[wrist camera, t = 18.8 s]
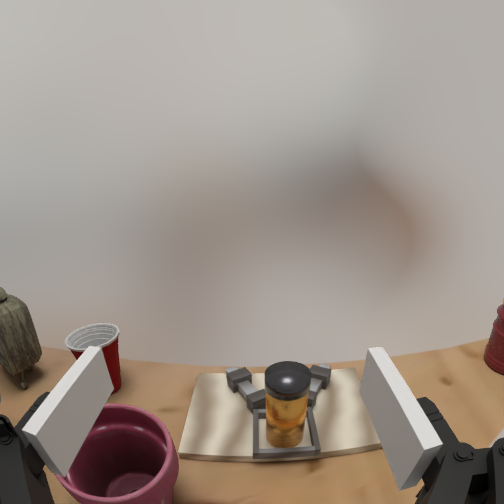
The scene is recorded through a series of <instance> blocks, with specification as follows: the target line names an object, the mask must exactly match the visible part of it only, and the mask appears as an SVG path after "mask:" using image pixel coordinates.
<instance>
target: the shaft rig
mask: <svg viewBox="0 0 504 504" xmlns="http://www.w3.org/2000/svg"><path fill="white" fill-rule="evenodd" d="M330 368H331V366H329V365H325V364H320V365H319V366H315V365H312V367H311V368H310V371H311V385H310V390H309V393H308V402H307V411H306V419H305V427H304V435H303V439H302V441H301V442H300V443H299V444H298V445H297V446H295V447H292V448H276V447H274V446H272V445H271V444H269V443H268V441H267V440H266V391H265V373H262V374H251V373H250V372H249V371H248V370H247V369H246V368H245V367H244V368H241V369H237V368H236V367H232V368H229V369H225V370H226V374H221V373H198V377H197V381H196V384H195V388H194V392H193V396H192V400H191V404H190V407H189V411H188V415H187V419H186V423H185V427H184V431H183V435H182V439H181V443H180V447H179V451H178V453H179V456H180V458H185V459H195V460H209V461H230V462H269V461H291V460H304V459H315V458H324V457H332V456H340V455H346V454H353V453H359V452H364V451H370V450H375V449H380V448H383V447H382V445H381V443H380V440H379V438H378V435H377V433H376V430H375V428H374V425H373V423H372V421H371V418H370V416H369V413H368V411H367V409H366V406H365V404H364V402H363V399H362V397H361V395H360V392H359V389H360V385H361V380H360V378H359V376H358V374H357V372H356V369H355V368H346V369H335V370H332V369H330Z"/></svg>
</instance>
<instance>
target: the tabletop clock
mask: <svg viewBox="0 0 504 504" xmlns="http://www.w3.org/2000/svg"><path fill="white" fill-rule="evenodd" d="M41 355H42V351H41V347H40V344H39V340H38V337H37V334H36V331H35V328H34V325H33V322H32V318H31V315H30V313H29V310H28V308H27V306H26V304H25V303H24V302H22V301H21V300H20V299H18V298H17V297H14V296H12V295H8V294H6V292H5V290H4V289H3V288H1V287H0V364H1V365H2V367H3V368H4V369H5V370H6V371H7V372H8V373H9V374H10V375H12V376H14V375H16V374H18V373H19V372H20V374H21V378H22V382H21V386H22V388H24V389H26V388H27V387H28V384H27V382H25V381H24V369H26V368H27V369H28V370H32V368H33V367H32V365H33V364H35V363H36V362H38V361H39V359H40V357H41Z"/></svg>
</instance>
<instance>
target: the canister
mask: <svg viewBox="0 0 504 504" xmlns="http://www.w3.org/2000/svg"><path fill="white" fill-rule="evenodd" d="M497 313H498V316H497V319H496V320H495V321H494V323H493V329H492V332H491V335H490V338H489V341H488V344H487V345H486V348H485V354H484V359H485V361H486V363H487V364H488V366H489V367H490V368H492V369H493V370H495V371H496V372H498V373H501V374H504V299H503V304H502V305H500V306H499V307H498V309H497Z"/></svg>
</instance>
